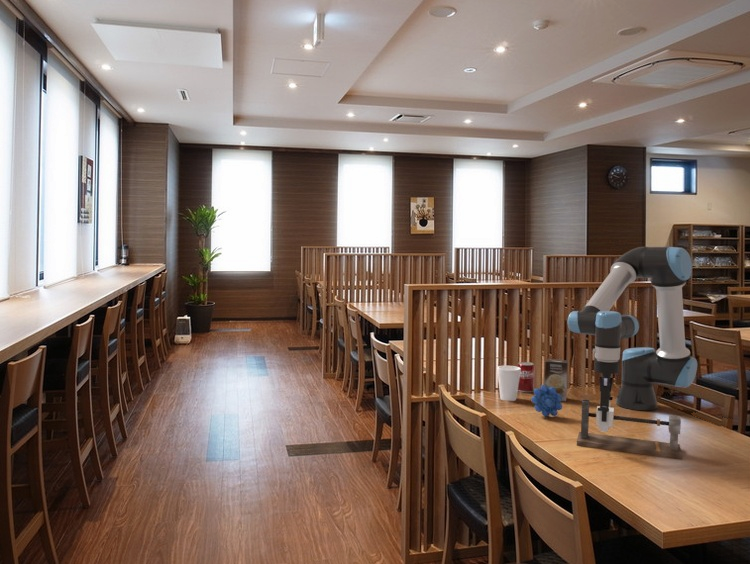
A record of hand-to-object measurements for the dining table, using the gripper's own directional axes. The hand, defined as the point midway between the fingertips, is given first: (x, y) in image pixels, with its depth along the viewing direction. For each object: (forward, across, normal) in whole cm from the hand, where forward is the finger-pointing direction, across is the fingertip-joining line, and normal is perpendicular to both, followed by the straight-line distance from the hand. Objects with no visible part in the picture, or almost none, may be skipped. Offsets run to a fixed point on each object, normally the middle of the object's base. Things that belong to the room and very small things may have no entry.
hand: (604, 425), depth 193 cm
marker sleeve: (0, 0, 0) cm, 0 cm away
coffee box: (+6, -52, -21) cm, 57 cm away
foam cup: (+6, -44, -39) cm, 59 cm away
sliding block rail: (+6, 0, +7) cm, 9 cm away
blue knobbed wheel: (+6, -23, -20) cm, 32 cm away
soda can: (+6, -61, -34) cm, 70 cm away
